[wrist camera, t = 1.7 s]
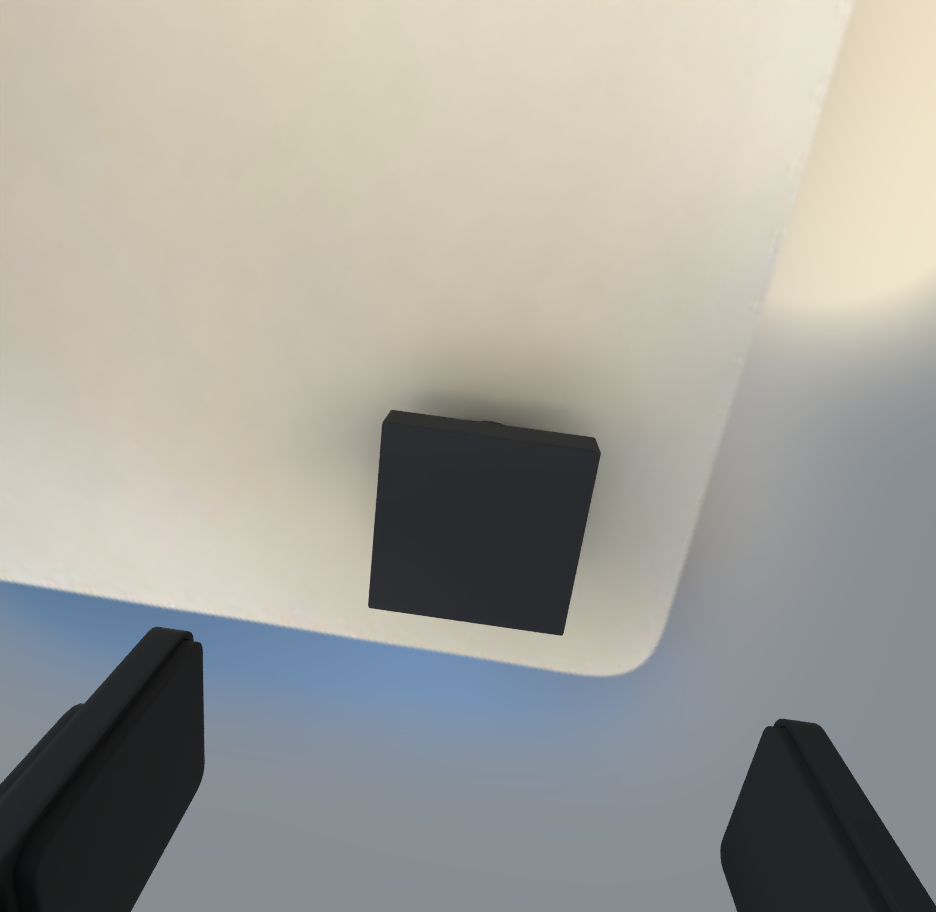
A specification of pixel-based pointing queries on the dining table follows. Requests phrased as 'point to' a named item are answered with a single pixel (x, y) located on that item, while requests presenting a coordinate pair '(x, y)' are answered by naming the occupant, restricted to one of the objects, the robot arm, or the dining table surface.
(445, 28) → the dining table surface
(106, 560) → the dining table surface
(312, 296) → the dining table surface
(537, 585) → the black pad
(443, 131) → the dining table surface
